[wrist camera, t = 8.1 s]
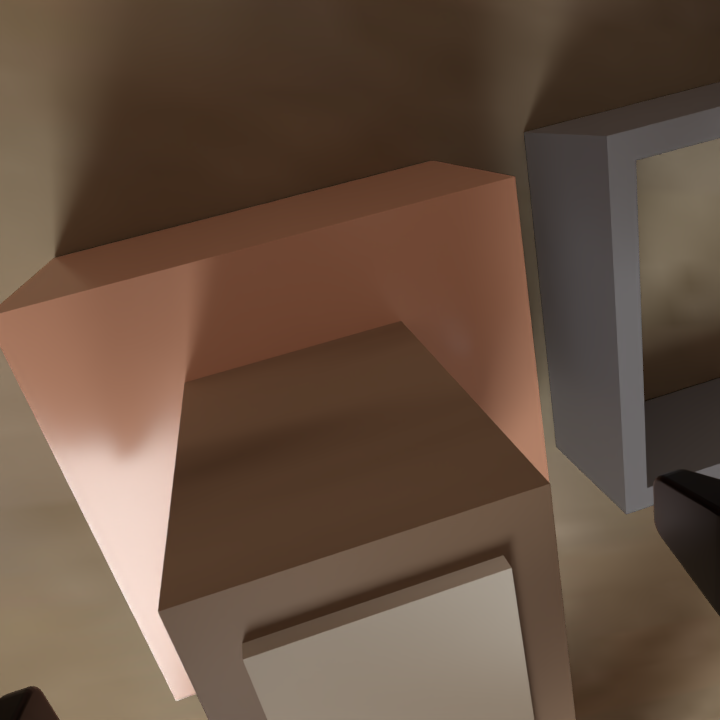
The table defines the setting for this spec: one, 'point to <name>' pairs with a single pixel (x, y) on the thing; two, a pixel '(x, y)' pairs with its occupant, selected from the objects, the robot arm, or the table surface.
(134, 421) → the terracotta stand
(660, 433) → the charcoal bin
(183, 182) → the table surface
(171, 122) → the table surface
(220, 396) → the walnut box
